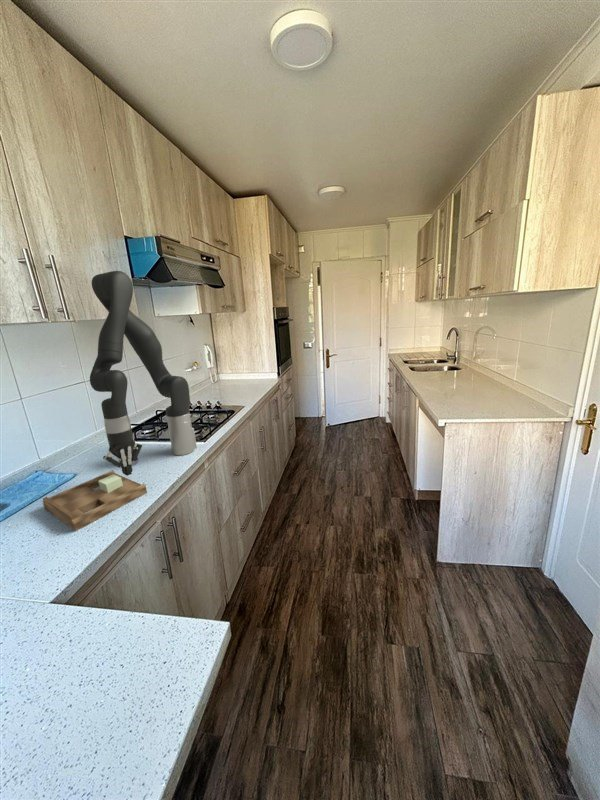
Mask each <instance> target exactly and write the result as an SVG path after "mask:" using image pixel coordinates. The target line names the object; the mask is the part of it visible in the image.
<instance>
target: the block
mask: <svg viewBox="0 0 600 800" xmlns="http://www.w3.org/2000/svg"><path fill="white" fill-rule="evenodd" d="M98 482H99V488H100V489H101V490H103V491H105V492H107V493H109V492H111V491H113V490H115V489H117V488H119V487H121V486H123V484H122V479H121V477H118V476H116V475H114V474H112V475H110V476H108V477H106V478H104V479H101V480H99V481H98Z"/></svg>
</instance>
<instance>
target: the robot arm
mask: <svg viewBox="0 0 600 800" xmlns="http://www.w3.org/2000/svg"><path fill="white" fill-rule="evenodd" d="M91 289H92V291H93V293H94V295H95V296H96V298H97V299H98V300H99V302H100V303H101V304H102V306H103V307H104V308H105V310H106V311H107V312H108V314H107V316H106V318H105V320H104V323H103V325H102V327H101V329H100V331H99V334H98V335H99V336H98V340H97V341H98V343H97V356H96V358H95V361H94V364H93V366H92V369H91V372H90V376H89V384H90V386H91V388H92V389H93V390H94V391H95V392H99V393H105V392H106V393H107V392H108V393H111V396H110V397H109V398H106V399H104V400H102V401H101V405H100V406H101V411H102V415H103V422H104V423H103V424H104V429H105V434H106V439H107V443H108V453H106V455H104V456H102V458H103V460H104V461H106V462H108V463H110V464H111V465H113V466H115V467H118V468H121V472H122V474H123V475H125V476H130V475H132V474H133V467H132V466H133V465H131V463H132V462H133V461H135V460H136V459H137V457H138V456H139V454H140V452H141V450H142V447H143V445H142V444H140V443H136V442H135V439H134V440H133V437H134V435H133V430H132V423H131V420H130V417H129V414H128V409H127V404H126V403H127V402H126V400H127V393H128V391H127V390H128V377H127V376H126V374H125V372H123V371H121V370H118V369H111V368H112V366H114V365H116V364H120V363H122V361H123V356H124V355H123V354H124V337H126V339H127V341H128V342H129V344H130V346H131V347H132V349H133V350H134V352H135V354H136V355H137V356H138V358H139V359H140V361H141V362H142V364H143V366H144V367H145V369H146V371H147V372H148V373H149V376H150V377H151V379H152V382H153V384H154V386H155V388H156V390H157V392H158V393H159V394H160V395H161V396H162V397H165V398H168V399H169V398H170V405H169V406H167V407H166V408H165V415H166V416H165V417H166V422H167V426H168V433H169V439H170V444H171V450H172V454H173V455H174V456H184V455H188V454H192V453H193V452H195V449H197V448H198V447H197V441H196V433H195V428H194V427H192V420H191V414H190V413H191V412H190V406H191V398H190V397H191V396H190V388H189V386H190V385H189V382H188V381H187V379H186V378H184V377H183V376H179V375H172V374H171V373H170V372H169V370H168V369H167V367H166V366H165V364H164V361H163V349H162V345H161V342H160V340H159V339H158V336H157V335H156V333H155V332H154V330H153V329H152V328H151V326H149V325H148V324H147V323H146V322H145V321H143V320H142V319H141V318H139V316H137V315H135V313H134V312H132V311H131V310H130V307H131V303H132V299H133V295H134V285H133V281H132V280H131V277H130V276H129V275H128V274H127V273H125V272H124V271H121V270H112V271H108V272H103V273H98V274H95V275H94V276H93V277H92V278H91ZM132 450H133V451H132ZM131 452H132V453H131ZM114 457H116V459H117V460H115V459H114Z"/></svg>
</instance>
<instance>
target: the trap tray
mask: <svg viewBox="0 0 600 800" xmlns="http://www.w3.org/2000/svg"><path fill="white" fill-rule="evenodd" d="M112 474H114V475H116V476H118V477H121V479H122V484H123V486H121V487H119V488H117V489H115V490H113V491H111V492H109V493H107V492H105V491H103V490H101V489H100V486H99V482H98V481H99V480H101V479H104V478H106V477H108V476H110V475H112ZM96 488H97V489H96ZM94 489H95V490H94ZM147 493H148V491H147V486H146V484H145V483H143V484H141V483H138V482H136V481H134V480H131V479H130V478H127V477H125V476H123V475H121V474H119V473H116V472H115V470H110V471H107V472H105V473H103V474H100V475H98V476H96V477H94V478H92V479H91V478H90V479H89V480H87V481H85V482H82V483H80V484H78V485H76V486H73V487H71V488H69V489H66V490H64V491H61V492H60V493H57V494H55V495H52V496H51V497H47V496H45V497H42V505H43V508H44V509H45V511H46V510H47V511H46V512H48V513H49V512H50V513H49V514H51V515H52V516H54V517H57V518H56V519H58V520H60V522H62V523H64V524H65V525H66V524H67V525H66V526H68V527H70V528H71V529H72V530H74V531H75V532H77V531H79V530H81V529H82V528H84V527H87V526H88V525H90V524H93V523H94V522H95V521H97V520H99V518H100V519H102V518H103V517H105V516H106V515H109V514H111V513H112V511H113V512H115V511H117V510H118V509H120V508H122V507H123V505H124V506H125V505H127V504H129V503H131V502H133V501H135V500H137V499H139V498H140V497H143V496H144V495H146V494H147ZM136 498H137V499H136Z"/></svg>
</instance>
